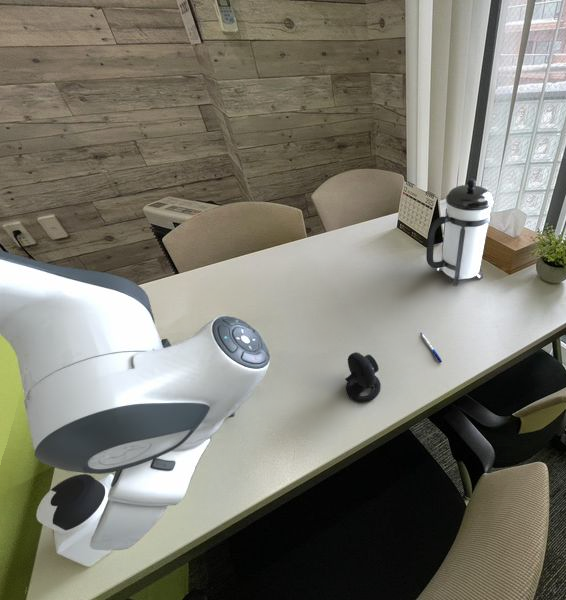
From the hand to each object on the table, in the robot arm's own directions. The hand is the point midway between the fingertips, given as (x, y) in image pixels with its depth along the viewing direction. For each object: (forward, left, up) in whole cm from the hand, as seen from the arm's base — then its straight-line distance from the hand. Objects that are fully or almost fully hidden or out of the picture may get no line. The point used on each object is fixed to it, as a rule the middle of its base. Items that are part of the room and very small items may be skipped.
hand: (125, 477), depth 43 cm
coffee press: (+80, -32, -13) cm, 87 cm away
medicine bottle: (-4, +7, -13) cm, 15 cm away
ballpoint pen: (+47, -31, -13) cm, 58 cm away
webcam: (+31, -20, -13) cm, 39 cm away
